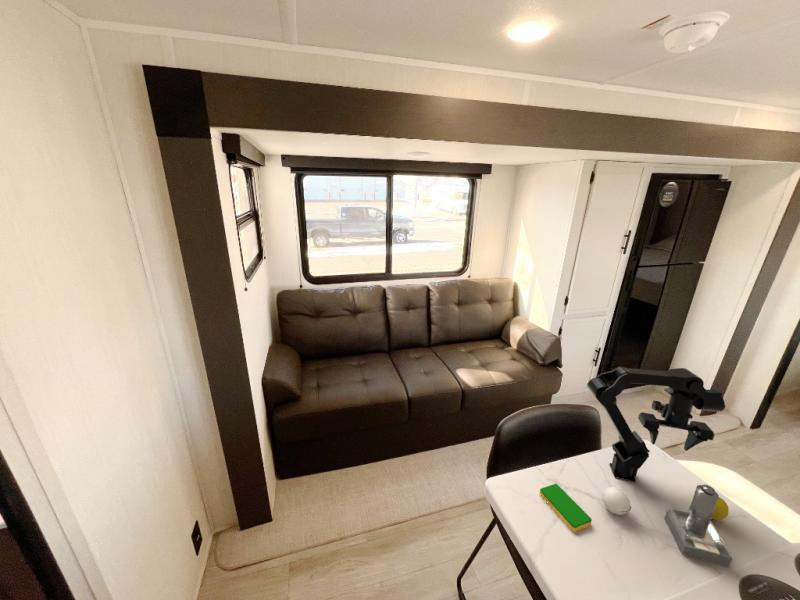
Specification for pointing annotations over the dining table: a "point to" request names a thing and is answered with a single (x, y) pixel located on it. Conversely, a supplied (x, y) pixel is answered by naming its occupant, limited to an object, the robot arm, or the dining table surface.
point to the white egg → (616, 501)
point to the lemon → (720, 510)
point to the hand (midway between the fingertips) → (668, 446)
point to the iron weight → (701, 509)
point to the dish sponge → (565, 507)
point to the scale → (697, 540)
